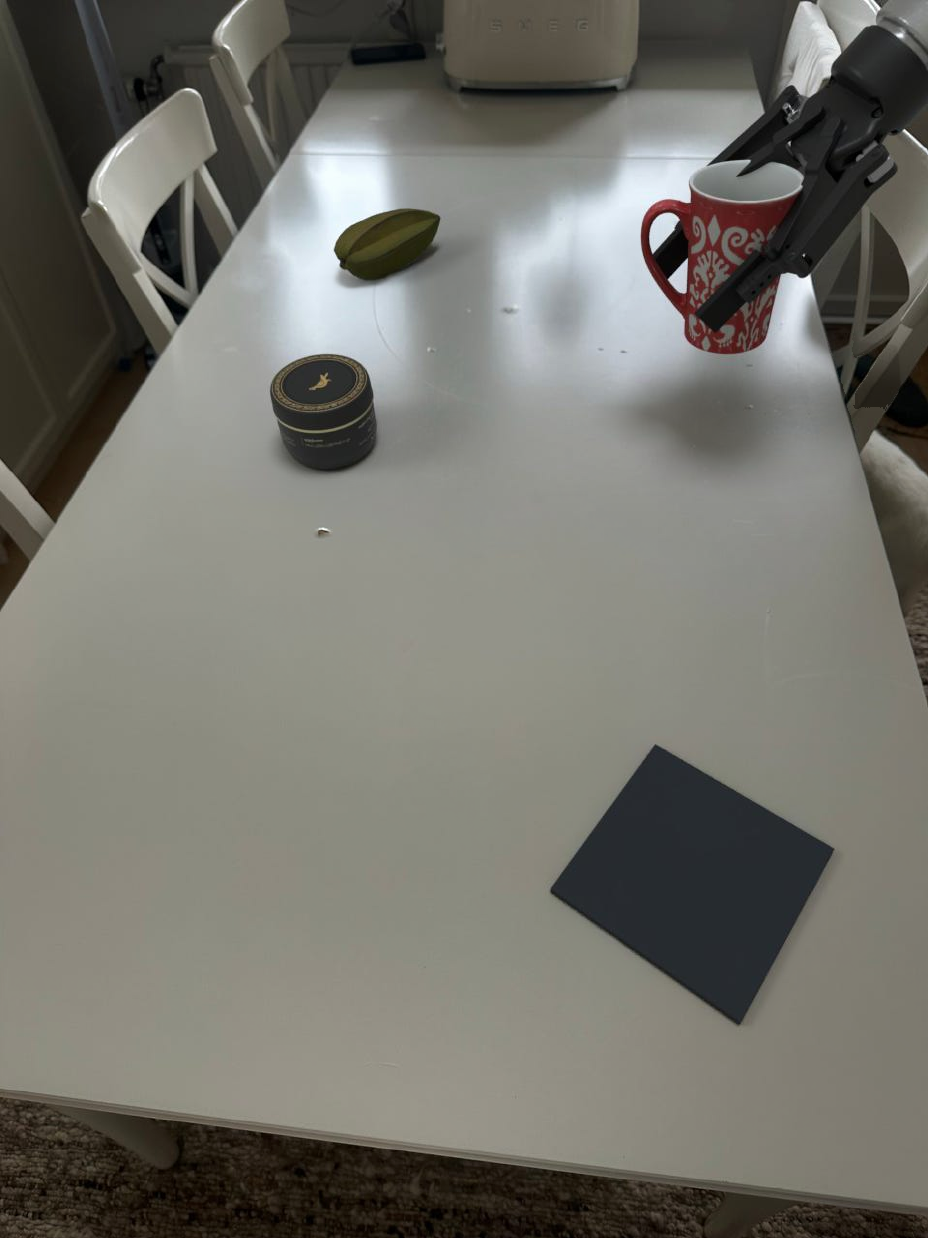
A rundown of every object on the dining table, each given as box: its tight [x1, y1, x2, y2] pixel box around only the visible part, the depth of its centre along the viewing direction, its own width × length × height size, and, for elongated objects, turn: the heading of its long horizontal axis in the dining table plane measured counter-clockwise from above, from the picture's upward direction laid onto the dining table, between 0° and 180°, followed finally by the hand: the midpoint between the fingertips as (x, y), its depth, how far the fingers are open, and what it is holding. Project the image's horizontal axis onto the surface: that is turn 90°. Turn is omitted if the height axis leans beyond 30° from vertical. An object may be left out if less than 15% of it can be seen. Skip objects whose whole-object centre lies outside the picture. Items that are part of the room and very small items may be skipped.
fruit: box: [333, 207, 441, 281], centre depth 109 cm, size 11×12×7 cm
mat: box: [549, 743, 835, 1025], centre depth 59 cm, size 14×14×1 cm
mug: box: [640, 160, 805, 355], centre depth 74 cm, size 13×9×14 cm
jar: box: [269, 353, 378, 471], centre depth 87 cm, size 10×10×8 cm
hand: (680, 295), depth 75 cm, fingers closed on mug, 8 cm apart
